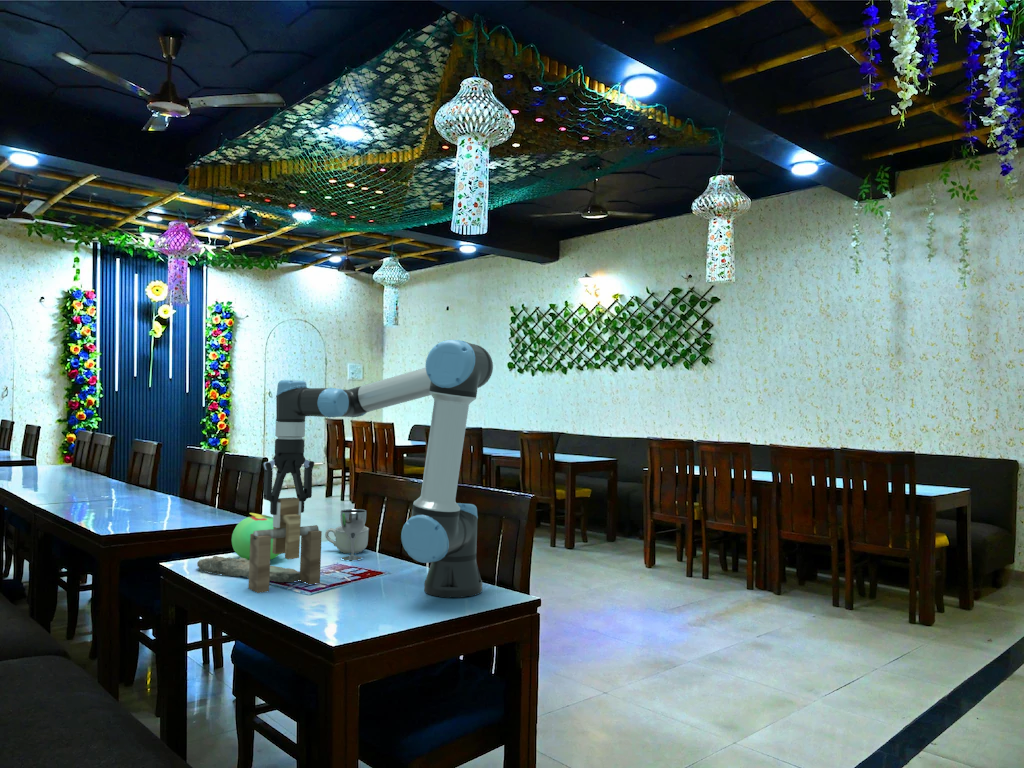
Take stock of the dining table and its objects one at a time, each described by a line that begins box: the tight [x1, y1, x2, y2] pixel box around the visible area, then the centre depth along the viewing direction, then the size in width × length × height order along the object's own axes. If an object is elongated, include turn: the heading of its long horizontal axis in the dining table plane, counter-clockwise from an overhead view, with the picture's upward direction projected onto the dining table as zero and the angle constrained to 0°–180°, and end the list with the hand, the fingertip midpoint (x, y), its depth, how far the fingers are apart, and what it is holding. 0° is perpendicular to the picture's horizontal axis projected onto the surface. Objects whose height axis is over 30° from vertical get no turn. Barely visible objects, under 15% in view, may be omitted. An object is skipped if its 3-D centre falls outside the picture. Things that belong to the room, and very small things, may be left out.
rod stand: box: [248, 524, 323, 594], centre depth 190 cm, size 6×17×15 cm, turn 131°
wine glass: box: [340, 508, 367, 560], centre depth 226 cm, size 8×8×15 cm
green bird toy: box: [231, 512, 280, 561], centre depth 220 cm, size 18×17×15 cm
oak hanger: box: [273, 496, 302, 560], centre depth 190 cm, size 10×5×15 cm, turn 41°
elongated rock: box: [196, 555, 300, 583], centre depth 201 cm, size 35×5×10 cm
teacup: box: [324, 525, 370, 554], centre depth 237 cm, size 14×11×8 cm
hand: (286, 526), depth 190 cm, fingers closed on oak hanger, 5 cm apart
